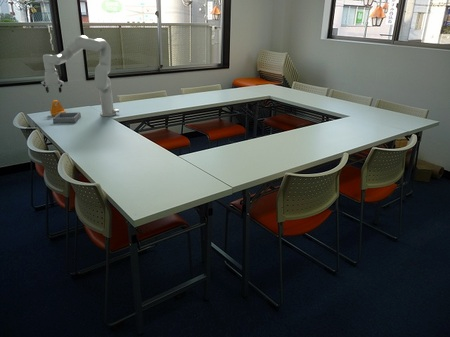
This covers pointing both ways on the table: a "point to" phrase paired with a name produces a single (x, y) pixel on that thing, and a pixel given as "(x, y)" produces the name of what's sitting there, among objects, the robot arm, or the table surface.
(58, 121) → the bin
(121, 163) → the table surface
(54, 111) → the bracket
